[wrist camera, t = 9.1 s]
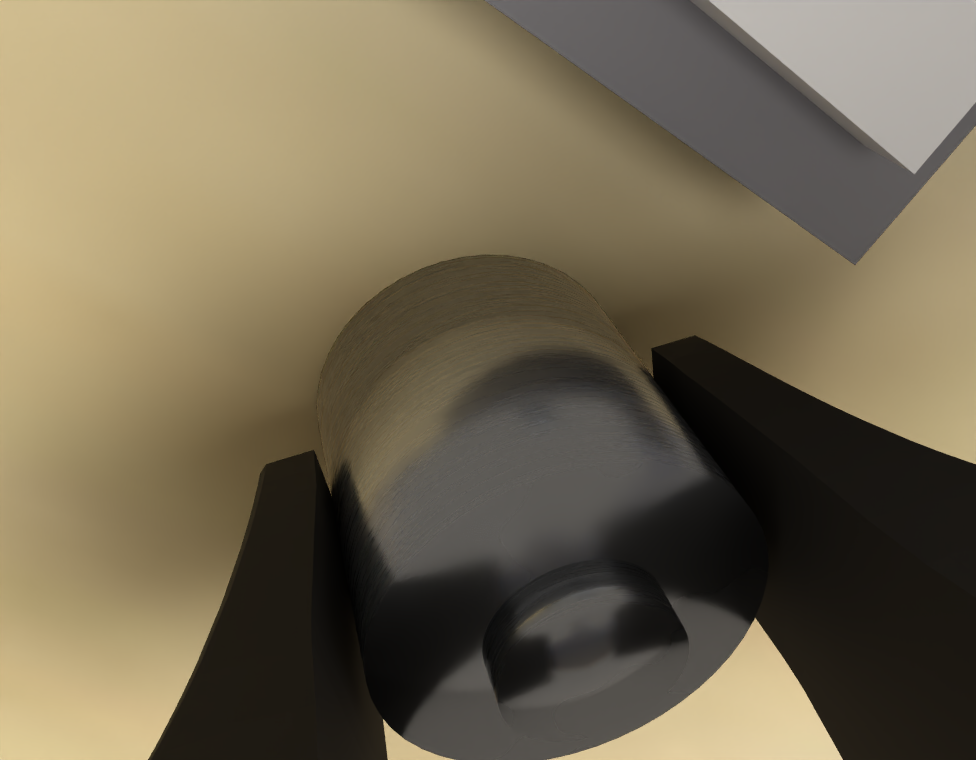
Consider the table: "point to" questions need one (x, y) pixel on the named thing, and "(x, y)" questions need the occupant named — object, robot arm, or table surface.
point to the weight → (524, 517)
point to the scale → (788, 92)
